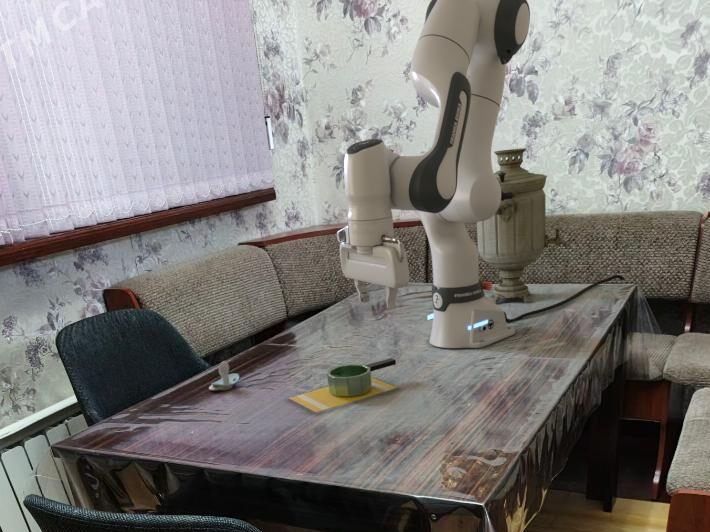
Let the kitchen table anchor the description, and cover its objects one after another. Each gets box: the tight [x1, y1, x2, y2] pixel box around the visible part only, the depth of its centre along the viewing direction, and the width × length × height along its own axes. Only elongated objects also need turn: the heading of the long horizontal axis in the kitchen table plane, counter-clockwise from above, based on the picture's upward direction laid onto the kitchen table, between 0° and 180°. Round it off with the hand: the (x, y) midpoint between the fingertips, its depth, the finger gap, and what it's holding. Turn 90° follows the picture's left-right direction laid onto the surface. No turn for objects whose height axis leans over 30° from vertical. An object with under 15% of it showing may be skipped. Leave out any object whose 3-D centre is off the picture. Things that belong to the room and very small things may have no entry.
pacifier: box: [208, 360, 240, 392], centre depth 160 cm, size 7×6×6 cm
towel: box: [288, 376, 398, 413], centre depth 151 cm, size 20×12×1 cm, turn 124°
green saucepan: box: [326, 357, 397, 397], centre depth 152 cm, size 16×9×4 cm, turn 124°
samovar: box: [476, 147, 569, 305], centre depth 202 cm, size 30×26×40 cm
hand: (377, 304), depth 147 cm, fingers open, 8 cm apart
